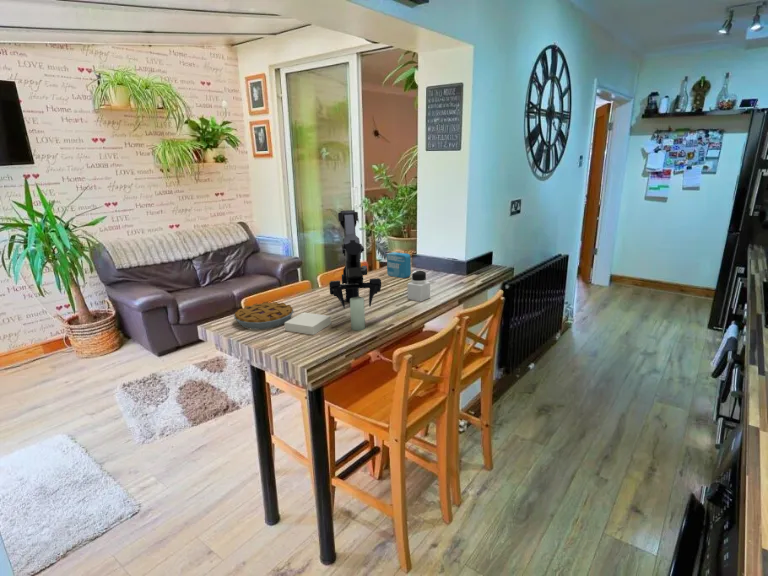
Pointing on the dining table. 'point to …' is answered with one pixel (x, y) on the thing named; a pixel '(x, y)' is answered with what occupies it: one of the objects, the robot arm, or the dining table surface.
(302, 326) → the stand
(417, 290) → the medicine bottle
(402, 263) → the data package
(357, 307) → the ball
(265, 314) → the pie
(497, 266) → the dining table surface
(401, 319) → the dining table surface
